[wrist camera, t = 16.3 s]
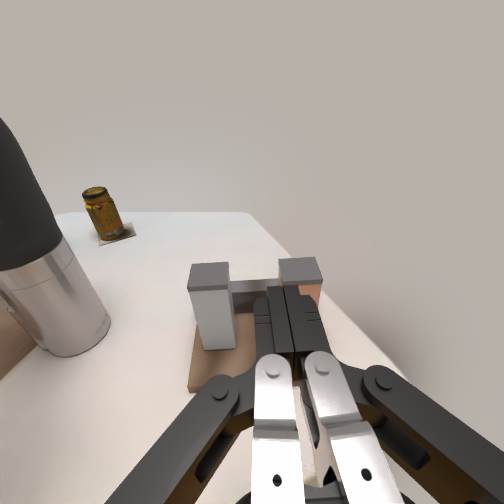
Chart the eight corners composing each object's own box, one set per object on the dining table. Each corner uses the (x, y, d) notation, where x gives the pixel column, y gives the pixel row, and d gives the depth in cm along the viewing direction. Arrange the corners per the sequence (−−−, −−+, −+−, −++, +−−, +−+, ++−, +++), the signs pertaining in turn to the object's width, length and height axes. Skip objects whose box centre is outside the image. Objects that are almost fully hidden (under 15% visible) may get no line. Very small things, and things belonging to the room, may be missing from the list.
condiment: (97, 232, 69) (77, 188, 61) (131, 222, 72) (116, 180, 65) (99, 246, 64) (77, 200, 56) (136, 235, 67) (119, 191, 59)
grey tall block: (204, 350, 38) (187, 286, 30) (206, 326, 41) (191, 264, 34) (235, 348, 38) (227, 284, 30) (236, 325, 41) (228, 261, 34)
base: (189, 392, 35) (179, 366, 31) (201, 310, 46) (194, 283, 42) (331, 383, 35) (339, 356, 31) (309, 303, 47) (312, 276, 43)
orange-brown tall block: (280, 346, 38) (283, 281, 30) (277, 322, 41) (278, 259, 34) (312, 344, 38) (322, 279, 30) (306, 321, 41) (314, 256, 34)
